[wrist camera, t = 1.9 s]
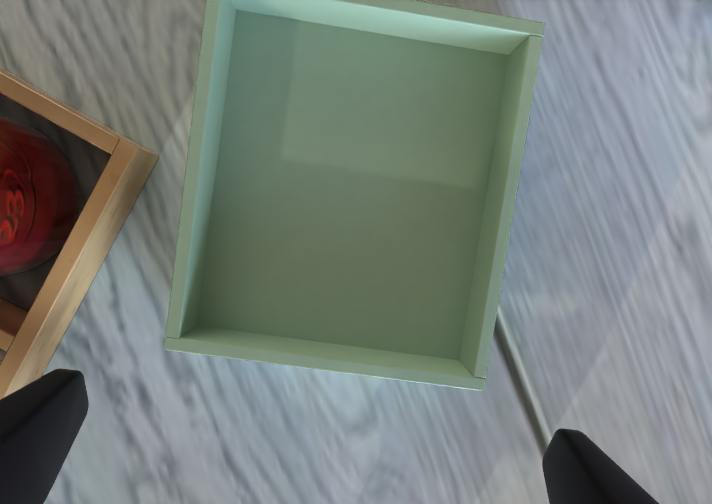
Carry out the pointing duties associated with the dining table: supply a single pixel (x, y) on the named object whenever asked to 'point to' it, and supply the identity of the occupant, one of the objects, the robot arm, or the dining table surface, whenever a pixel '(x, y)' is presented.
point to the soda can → (32, 198)
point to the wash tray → (352, 186)
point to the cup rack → (69, 238)
